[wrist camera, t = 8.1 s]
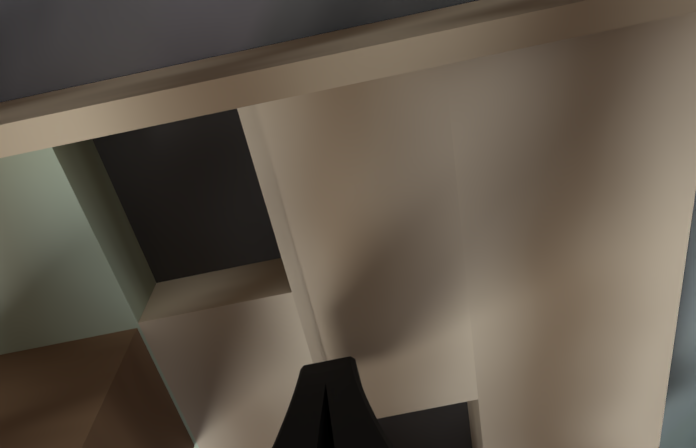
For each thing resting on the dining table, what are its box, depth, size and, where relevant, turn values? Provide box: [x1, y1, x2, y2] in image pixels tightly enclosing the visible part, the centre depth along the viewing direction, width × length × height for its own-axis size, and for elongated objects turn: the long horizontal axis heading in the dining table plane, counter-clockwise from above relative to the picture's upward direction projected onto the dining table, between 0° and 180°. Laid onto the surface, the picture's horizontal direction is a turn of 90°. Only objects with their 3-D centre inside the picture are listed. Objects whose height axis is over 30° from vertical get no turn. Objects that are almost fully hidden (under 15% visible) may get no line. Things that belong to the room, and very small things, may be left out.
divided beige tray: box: [0, 0, 696, 448], centre depth 14 cm, size 20×16×4 cm
